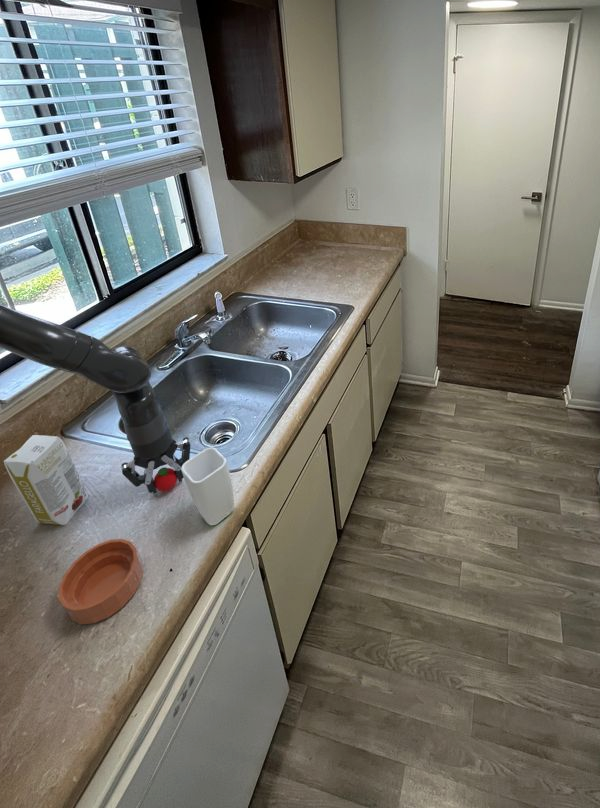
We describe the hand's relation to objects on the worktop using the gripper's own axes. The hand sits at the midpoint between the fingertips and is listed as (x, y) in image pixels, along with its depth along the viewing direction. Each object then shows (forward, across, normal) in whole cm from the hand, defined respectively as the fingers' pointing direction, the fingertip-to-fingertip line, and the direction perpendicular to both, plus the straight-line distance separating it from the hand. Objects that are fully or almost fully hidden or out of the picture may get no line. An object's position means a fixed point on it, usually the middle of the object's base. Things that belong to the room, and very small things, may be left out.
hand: (167, 484), depth 101 cm
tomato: (+1, 0, 0) cm, 1 cm away
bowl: (+1, +13, +17) cm, 21 cm away
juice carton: (+1, +20, -7) cm, 21 cm away
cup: (+1, -8, +13) cm, 15 cm away
